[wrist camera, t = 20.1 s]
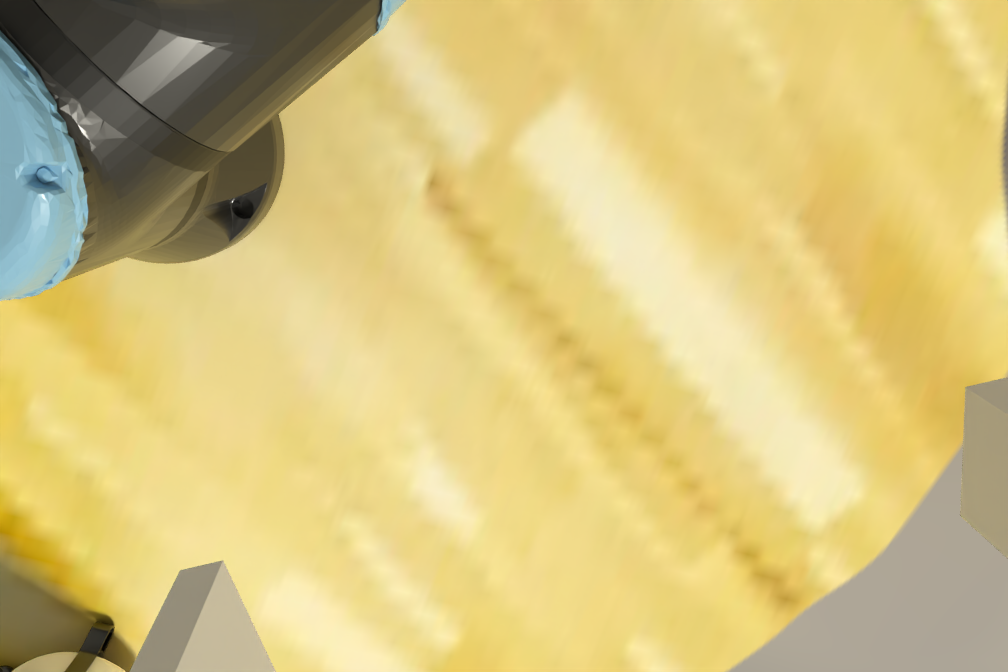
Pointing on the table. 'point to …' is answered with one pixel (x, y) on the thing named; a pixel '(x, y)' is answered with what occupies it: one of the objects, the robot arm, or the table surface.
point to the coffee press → (76, 656)
